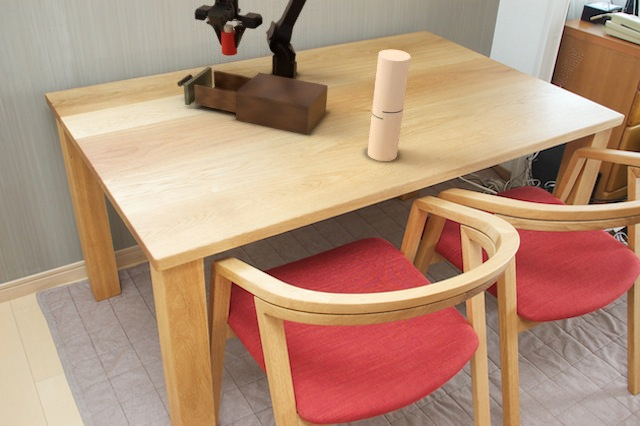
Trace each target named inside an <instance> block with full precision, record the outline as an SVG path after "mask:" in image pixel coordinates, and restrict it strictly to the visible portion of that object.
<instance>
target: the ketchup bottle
mask: <svg viewBox="0 0 640 426" xmlns="http://www.w3.org/2000/svg"><path fill="white" fill-rule="evenodd" d="M221 43H222V45H221V54H222V55H223V56H229V57H232V56H235V55H237V54H238V48H235V30H234V24H227V23H226V25H225V26H224V30H222V31H221Z"/></svg>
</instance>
